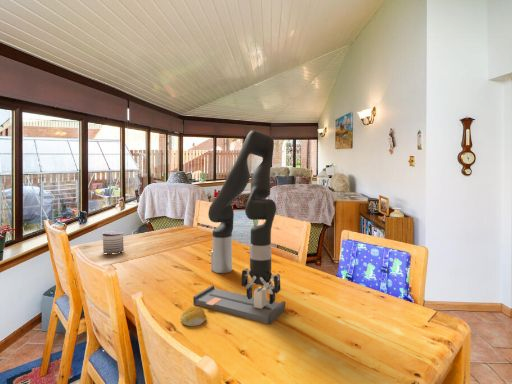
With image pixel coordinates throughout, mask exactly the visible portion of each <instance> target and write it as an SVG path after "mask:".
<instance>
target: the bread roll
mask: <svg viewBox="0 0 512 384" xmlns="http://www.w3.org/2000/svg"><path fill="white" fill-rule="evenodd" d="M206 319H207V315H206V312H205V311H204V309H203V308H201V306H200V307H199V306H197V305H196V306H194V305H193V306H189V307H188V308H185V309H184V310H183V311H182V313H181V315H180V322H181V323H182V324H183V325H184V326H187V327H194V326H199V325H200V326H201V325H202V324H203V323H204V322H205V321H206Z"/></svg>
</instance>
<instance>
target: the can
mask: <svg viewBox="0 0 512 384" xmlns="http://www.w3.org/2000/svg"><path fill="white" fill-rule="evenodd" d="M102 248H103V249H102V251H103V253H107V254H112V253H119V252H122V251H124V252H125V249H124V232H123V231H116V230H113V231H103V232H102ZM122 253H123V252H122Z"/></svg>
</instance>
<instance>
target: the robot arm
mask: <svg viewBox="0 0 512 384" xmlns="http://www.w3.org/2000/svg"><path fill="white" fill-rule="evenodd" d="M274 147H275V142H274V138H273V137H272V136H271V135H268V134H266V133H264V132H262V131H259V130H254V129H253V130H250V131H249V132H248V134H247V135H246V137H245V139H244V141H243V144H242V146H241V148H240V152H239V153H238V156H237V158H236V160H235V162H234V164H233V166H232V168H231V169H230V171H229V173H228V175H227V176H226V179H225V181H224V183H223V185H222V187H221V188H220V190H219V193H218V194H217V195H216V197H215V199H214V200H213V201H212V203H211V204H210V206H209V208H208V212H207V213H208V218H209V220H210V222H212V223H215V224H216V223H220V224H219V225H218V226H217V227H215V228H214V229H213V230H212V250H211V251H210V264H211V265H210V267H211V268H210V269H211V270H210V271H213V272H214V273H215V274H226V273H231V272H232V271H233V252H232V251H233V241H232V240H233V237H232V236H233V235H232V234H233V230H234V216H235V214H234V206H233V205H232V203H231V202H232V201H234V200H235V199H236V198H237V197H239V196H240V195H241V194H242V193H243V192H244V190H246V187H247V185H248V184H249V182H250V191H249V192H250V193H249V196H248V198H247V202H246V205H245V208H244V212H245V213H244V214H245V216H246V218H248V219H249V220H251V221H254V220H255V221H256V220H257V221H258V220H259V221H260V220H261V221H262V220H263V221H264V220H265V221H264V223H262V224H259V225H255V226H252V227H251V228H250V246H249V247H250V248H249V269H248V268H245V269H243V270H242V271H241V283H240V284H241V287H244V288H245V289H246V295H247V297H248V299H251V298H252V297H253V285H254V284H255V286H256V285H257V286H258V285H259V286H260V287H264V288H266V289H267V292H269V293H268V294H269V297H268V299H269V304H272V303H273V302H276V294H278V293H279V292H281V275H280V274H279V273H278V274H272V243H271V242H272V227H273V223H274V219H275V215H276V214H277V213H276V212H277V204H276V202H275V201H274V200H273V199H267V198H268V197H269V196H270V195H271V168H272V163H273V157H274ZM250 155H253V156H257V157H260V158H262V161H261V162H260V163H259V165H258V166H257V167H256V168H255V169H253V171H252V173H251V175H250V171H249V164H248V157H249V156H250ZM250 176H251V177H250ZM249 277H250V278H251V279H250V280H249ZM271 279H272V280H271Z"/></svg>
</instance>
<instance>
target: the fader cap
mask: <svg viewBox="0 0 512 384" xmlns="http://www.w3.org/2000/svg"><path fill="white" fill-rule="evenodd" d="M267 293H268V289H266V287H265V286H258V287H257V288H255V289H254V291H253V297H254V307H256V308H260V309H262V308H263V307H264V306H265V305H266V304H267V300H268V299H267V298H268V296H267Z"/></svg>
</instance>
